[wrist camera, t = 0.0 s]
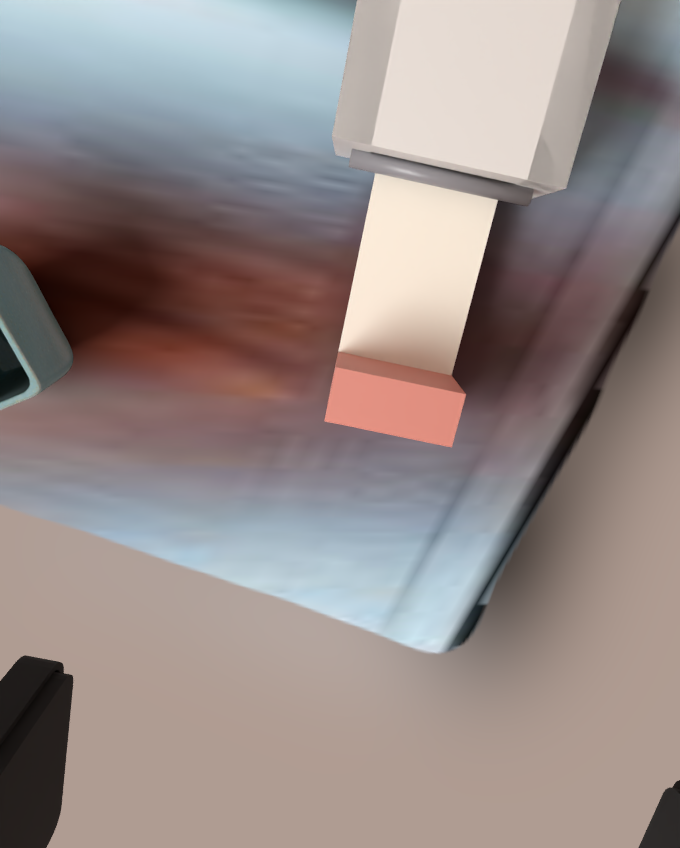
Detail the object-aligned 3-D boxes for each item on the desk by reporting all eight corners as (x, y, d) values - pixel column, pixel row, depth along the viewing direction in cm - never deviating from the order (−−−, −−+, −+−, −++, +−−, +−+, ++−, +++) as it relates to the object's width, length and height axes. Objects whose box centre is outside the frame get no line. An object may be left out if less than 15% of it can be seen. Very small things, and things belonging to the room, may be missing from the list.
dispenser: (389, -127, 32) (396, -212, 26) (608, -76, 32) (664, -147, 26) (332, 171, 36) (328, 156, 30) (527, 214, 36) (560, 207, 30)
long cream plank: (430, -90, 31) (446, -167, 25) (562, -59, 31) (608, -128, 25) (329, 396, 38) (324, 421, 32) (437, 418, 38) (451, 447, 32)
